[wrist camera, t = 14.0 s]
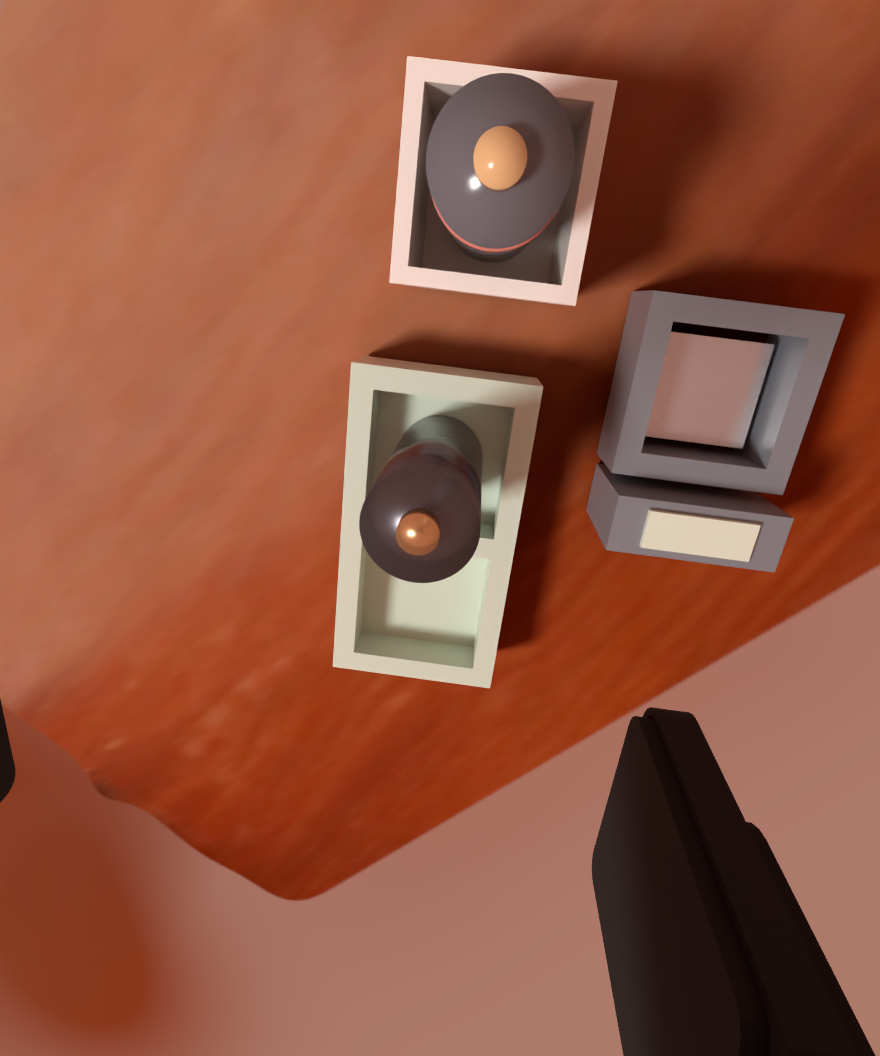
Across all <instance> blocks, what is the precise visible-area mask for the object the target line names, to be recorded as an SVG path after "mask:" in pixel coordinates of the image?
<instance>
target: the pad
mask: <svg viewBox="0 0 880 1056" xmlns="http://www.w3.org/2000/svg"><path fill="white" fill-rule="evenodd" d="M773 348H774V345H773V344H766V343H760V342H752V341H744V340H737V339H729V338H721V337H713V336H705V335H697V334H689V333H681V332H673V331H671V333H670V337H669V341H668V345H667V349H666V353H665V357H664V361H663V366H662V370H661V374H660V378H659V382H658V386H657V390H656V394H655V398H654V402H653V406H652V410H651V414H650V418H649V422H648V427H647V431H646V435H645V436H647V437H655V438H663V439H670V440H678V441H686V442H694V443H701V444H709V445H717V446H725V447H732V448H740V449H743V446H744V442H745V439H746V436H747V433H748V429H749V426H750V423H751V420H752V416H753V413H754V410H755V407H756V403H757V400H758V397H759V394H760V391H761V387H762V384H763V381H764V378H765V374H766V371H767V368H768V365H769V361H770V358H771V355H772V352H773Z"/></svg>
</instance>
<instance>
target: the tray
mask: <svg viewBox="0 0 880 1056" xmlns="http://www.w3.org/2000/svg"><path fill="white" fill-rule="evenodd" d="M542 392H543V385H542V384H541V383H540V381H539V380H538V378H535V377H527V376H519V375H512V374H504V373H496V372H488V371H480V370H472V369H465V368H457V367H449V366H441V365H433V364H426V363H418V362H410V361H402V360H394V359H386V358H379V357H371V356H363V357H361V358H359V359H357V360H355V361H352V362H351V374H350V390H349V407H348V423H347V440H346V456H345V473H344V489H343V506H342V522H341V539H340V556H339V572H338V589H337V605H336V622H335V638H334V655H333V667H339V668H347V669H354V670H361V671H368V672H376V673H383V674H390V675H397V676H405V677H412V678H419V679H426V680H434V681H441V682H448V683H455V684H463V685H470V686H477V687H485V688H490V685H491V680H492V674H493V668H494V663H495V657H496V651H497V646H498V640H499V635H500V629H501V623H502V618H503V612H504V606H505V601H506V595H507V589H508V584H509V578H510V572H511V567H512V561H513V556H514V550H515V544H516V539H517V533H518V527H519V522H520V516H521V510H522V505H523V499H524V494H525V488H526V482H527V477H528V471H529V465H530V460H531V454H532V448H533V443H534V437H535V432H536V426H537V420H538V415H539V409H540V403H541V398H542ZM434 415H445V416H450V417H453V418H456V419H458V420H460V421H462V422H463V423H465V424H466V425H467V426H468V427H470V428H471V430H472V431H473V432H474V433H475V435H476V436H477V438H478V440H479V442H480V445H481V449H482V457H483V459H482V495H481V530H480V539H479V543H478V546H477V549H476V551H475V553H474V555H473V557H472V558H471V559H470V561H469V562H468V563H467V564H466V565H465V566H464V567H463V568H462V569H461V570H460V571H459V572H457V573H456V574H454V575H452V576H451V577H448V578H446V579H444V580H440V581H437V582H431V583H413V582H408V581H404V580H401V579H398V578H396V577H394V576H392V575H390V574H388V573H387V572H385V571H384V570H383V569H381V568H380V567H379V566H378V565H377V564H376V563H375V562H374V561H373V560H372V559H371V557H370V556H369V554H368V553H367V551H366V549H365V547H364V545H363V543H362V539H361V536H360V529H359V519H360V512H361V509H362V506H363V503H364V501H365V499H366V497H367V496H368V494H369V492H370V491H371V489H372V487H373V485H374V484H375V482H376V480H377V479H378V477H379V475H380V474H381V472H382V470H383V468H384V467H385V465H386V463H387V462H388V460H389V458H390V457H391V455H392V453H393V451H394V450H395V448H396V446H397V445H398V443H399V441H400V440H401V438H402V436H403V435H404V433H405V432H406V430H407V429H408V428H409V427H410V426H411V425H412V424H414V423H415V422H417V421H418V420H420V419H422V418H425V417H429V416H434Z"/></svg>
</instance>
